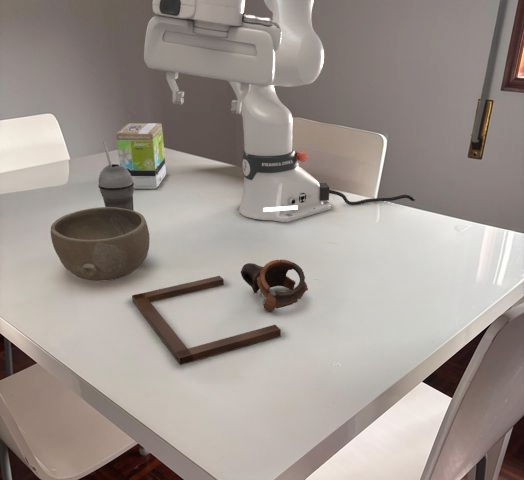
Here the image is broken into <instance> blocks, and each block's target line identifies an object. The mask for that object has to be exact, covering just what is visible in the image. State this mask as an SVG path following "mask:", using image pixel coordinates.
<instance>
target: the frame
mask: <svg viewBox="0 0 524 480" xmlns="http://www.w3.org/2000/svg"><path fill="white" fill-rule="evenodd" d="M224 283H225V282H224V278H222V276H221V275H216V276H212V277H211V276H210V277H208V278H203V279H198V280H194V281H190V282H185V283H181V284H177V285H172V286H168V287H163V288H158V289H155V290H150V291H145V292H141V293H137V294H133V295H131V300H132V302H133V304H134V306H135V307H136V308H137V309H138V311H139V312H140V313H141V315H142V316H143V317H144V318H145V320H146V321H147V323H148V324H149V325H150V327H151V328H152V329H153V330H154V332H155V333H156V335H157V336H158V337H159V339H160V341H162V343H163V344H164V345H165V347H166V348H167V349H168V351H169V352H170V353H171V355H172V356H173V357H174V358H175V359H174V360H176V361H177V362H178V364H179V365H180V366H181V365H184V364H188V363H191V362H195V361H198V360H202V359H206V358H209V357H212V356H216V355H220V354H223V353H226V352H230V351H232V350H234V351H235V350H237V349H240V348H244V347H248V346H251V345H254V344H258V343H262V342H264V341H269V340H271V339H275V338H278V337H281V333H282V330H281V328H280V327H279V326H277V325H276V324H271V325H268V326H265V327H261V328H257V329H254V330H250V331H247V332H243V333H238V334H236V335H232V336H228V337H224V338H221V339H218V340H213V341H211V342H207V343H203V344H199V345H196V346H193V347H187V345H186V344H185V343H184V342H183V341H182V340H181V338H180V337H179V336H178V334H177V333H176V332H175V331H174V330H173V328H172V327H171V326H170V325H169V323H168V322H167V321H166V319H165V318H164V317H163V316H162V314H161V313H160V312H159V311H158V310H157V308H156V307H155V306H154V305H153V303H152V302H157V301H161V300H165V299H170V298H175V297H179V296H183V295H187V294H192V293H196V292H201V291H204V290H208V289H212V288H213V289H214V288H217V287H222V286H224Z"/></svg>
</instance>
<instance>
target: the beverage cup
mask: <svg viewBox="0 0 524 480" xmlns="http://www.w3.org/2000/svg"><path fill="white" fill-rule="evenodd" d="M102 143H103V146H104V150H105V151H104V152H105V154H106V158H107V159H106V160H107V163H108V165H106V166H105V167H104V168H103V169H102V170H101V171H100V173H99V176H98V188H99V193H100V195H101V197H102V199H103V203H104V207H117V208H124V209H129V210H133V211H135V210H134V190H135V189H134V187H133V185H134V183H133V180H132V177H131V174H130V173H129V171H128V170H127V169H126V168H124V167H123V166H121V165H120V164H118V163H116V164H115V163H113V164H112V161H111V156H110V153H109V150H108V145H107V142H106V141H103V142H102Z"/></svg>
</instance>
